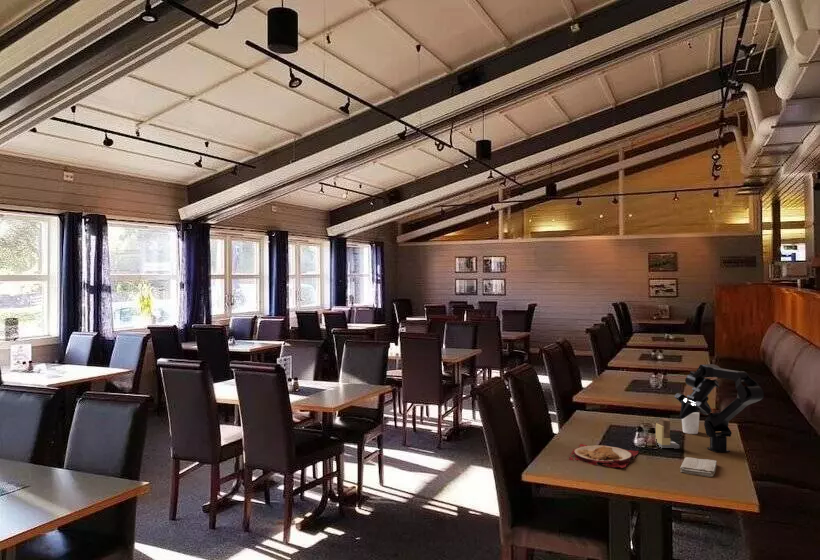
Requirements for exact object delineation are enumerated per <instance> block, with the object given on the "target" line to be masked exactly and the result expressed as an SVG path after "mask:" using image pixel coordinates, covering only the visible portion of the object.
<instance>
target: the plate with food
mask: <svg viewBox="0 0 820 560" xmlns="http://www.w3.org/2000/svg"><path fill="white" fill-rule="evenodd" d="M638 454H639V450H633V449H630V450H628V449H624V448H620V447H616V446H609V445H603V444H602V445H598V444H597V445H587V444H583V443H580V444H579V446H578V447H577V448H574V449H573V450H572V451H571V453H570V455H569V458H567V460H568V461H572V462H574V461H581V462H583V463H585V462H586V464H587V465H592V466H599V465H600V464H598V463H601V464H602V466H605V467H608V468H611V469H612V468H620V469H623V468H624V469H625V468H626V467H628V466H629V464H630V463H631V462H632V460H634V459H635V457H636V456H637V455H638ZM572 455H574V457H575V458H574V457H573V456H572Z"/></svg>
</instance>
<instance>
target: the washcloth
mask: <svg viewBox="0 0 820 560" xmlns="http://www.w3.org/2000/svg"><path fill="white" fill-rule="evenodd" d="M679 469H680V473H684V474H687V475H695V476H699V477H700V476H701V477H708V478H712V477H714V476H715V473H716V469H717V460H714V459H709V458H708V459H707V458H706V459H705V458H704V459H703V458H696V457H690V456H687V457H684V459H683V461H682V462H681V466H680V467H679Z"/></svg>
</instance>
